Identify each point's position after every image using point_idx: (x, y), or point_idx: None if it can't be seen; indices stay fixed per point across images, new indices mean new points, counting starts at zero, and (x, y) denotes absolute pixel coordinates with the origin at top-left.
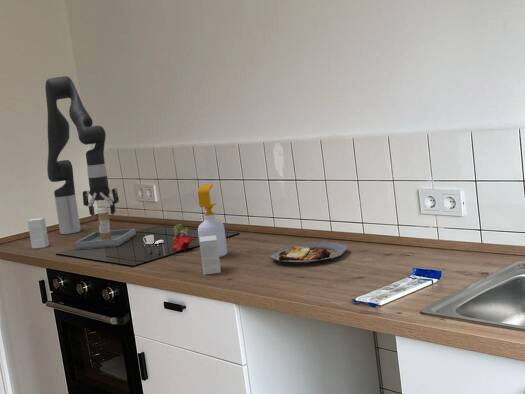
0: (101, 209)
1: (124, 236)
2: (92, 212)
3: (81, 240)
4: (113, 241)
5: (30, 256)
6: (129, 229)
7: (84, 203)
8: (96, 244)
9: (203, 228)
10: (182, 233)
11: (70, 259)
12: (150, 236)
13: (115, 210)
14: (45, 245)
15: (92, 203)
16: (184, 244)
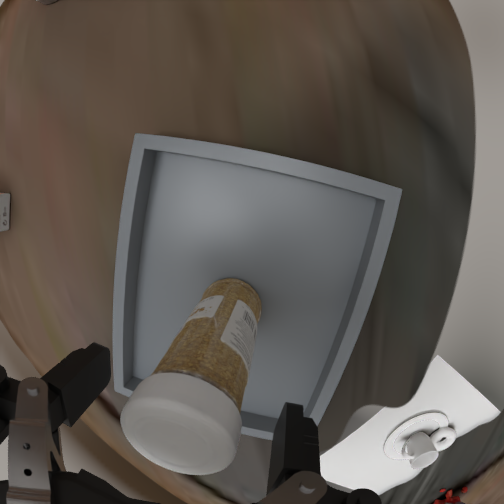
0: (184, 472)
1: (339, 374)
2: (96, 396)
3: (123, 352)
4: None
5: (27, 354)
6: (367, 194)
7: (1, 418)
8: None
9: None
10: None
11: (170, 476)
12: (424, 466)
13: (317, 430)
14: (5, 227)
15: (60, 449)
16: (456, 498)
